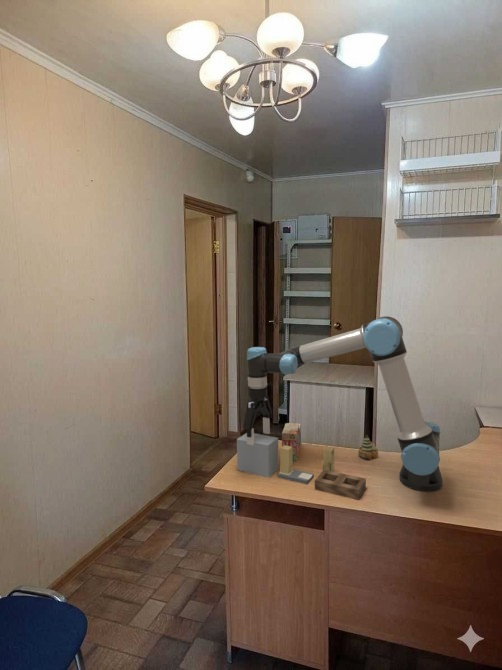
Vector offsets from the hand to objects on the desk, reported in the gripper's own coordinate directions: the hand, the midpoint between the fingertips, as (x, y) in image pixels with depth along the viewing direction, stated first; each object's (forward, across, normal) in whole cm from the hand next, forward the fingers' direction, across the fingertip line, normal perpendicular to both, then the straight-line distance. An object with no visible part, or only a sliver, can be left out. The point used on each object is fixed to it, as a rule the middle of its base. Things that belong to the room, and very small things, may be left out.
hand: (258, 438), depth 173 cm
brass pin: (+14, -10, +25) cm, 30 cm away
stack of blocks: (+14, -24, +4) cm, 28 cm away
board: (+13, -1, +15) cm, 20 cm away
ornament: (+14, -33, +35) cm, 50 cm away
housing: (+13, 0, -1) cm, 13 cm away
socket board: (+14, 0, +33) cm, 36 cm away
